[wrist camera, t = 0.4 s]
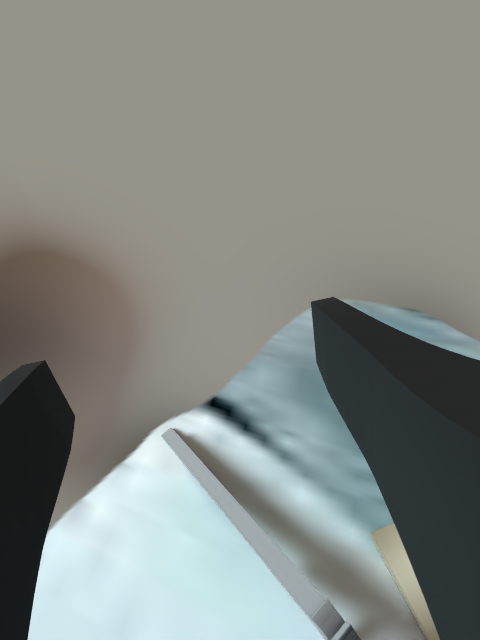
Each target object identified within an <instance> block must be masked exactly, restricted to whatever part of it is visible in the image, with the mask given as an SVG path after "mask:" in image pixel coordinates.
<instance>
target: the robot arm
mask: <svg viewBox="0 0 480 640" xmlns="http://www.w3.org/2000/svg"><path fill="white" fill-rule="evenodd" d="M311 308H312V318H313V329H314V340H315V351H316V361H317V365H318V367H319V370H320V372H321V375H322V378H323V380H324V383H325V385H326V388H327V390H328V392H329V394H330V396H331V398H332V400H333V402H334V403H335V405H336V407H337V409H338V411H339V413H340V414H341V416H342V418H343V420H344V421H345V423H346V425H347V427H348V429H349V430H350V432H351V434H352V436H353V438H354V439H355V441H356V443H357V445H358V446H359V448H360V450H361V452H362V454H363V455H364V457H365V459H366V461H367V463H368V465H369V467H370V469H371V471H372V473H373V475H374V477H375V479H376V482H377V484H378V486H379V489H380V491H381V493H382V496H383V498H384V500H385V503H386V505H387V507H388V509H389V512H390V514H391V517H392V519H393V521H394V524H395V526H396V529H397V531H398V534H399V536H400V538H401V541H402V543H403V546H404V548H405V550H406V553H407V556H408V558H409V561H410V563H411V566H412V568H413V571H414V573H415V576H416V578H417V581H418V583H419V586H420V588H421V591H422V593H423V596H424V599H425V601H426V604H427V606H428V609H429V612H430V614H431V617H432V620H433V622H434V625H435V628H436V630H437V633H438V636H439V638H440V640H480V361H479V360H476V359H473V358H469V357H466V356H463V355H460V354H457V353H454V352H452V351H449V350H446V349H443V348H440V347H437V346H435V345H432V344H429V343H427V342H424V341H422V340H420V339H417V338H415V337H413V336H410V335H408V334H406V333H403V332H401V331H399V330H397V329H395V328H393V327H391V326H389V325H386V324H384V323H382V322H380V321H378V320H376V319H375V318H373V317H371V316H369V315H367V314H365V313H363V312H361V311H359V310H357V309H356V308H354V307H352V306H350V305H348V304H346V303H344V302H343V301H341V300H339V299H337V298H334V297H331V298H326V299H322V300H317V301H313V302H311ZM74 422H75V415H74V413H73V411H72V410H71V408H70V406H69V404H68V402H67V400H66V398H65V397H64V395H63V393H62V391H61V390H60V387H59V385H58V384H57V382H56V380H55V378H54V376H53V374H52V372H51V370H50V369H49V367H48V365H47V363H46V361H45V360H44V361H40V362H36V363H30V364H26V365H22V366H21V367H19V368H18V369H16V370H15V371H13V372H12V373H11V374H9V375H8V376H7V377H6V378H4V379H3V380H2V381H1V382H0V640H27V639H28V632H29V625H30V619H31V612H32V606H33V599H34V593H35V587H36V582H37V577H38V571H39V566H40V560H41V555H42V550H43V546H44V542H45V538H46V534H47V530H48V527H49V523H50V520H51V517H52V513H53V510H54V507H55V503H56V500H57V496H58V493H59V490H60V486H61V483H62V479H63V476H64V472H65V469H66V465H67V462H68V458H69V454H70V451H71V444H72V438H73V430H74Z"/></svg>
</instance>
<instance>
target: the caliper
mask: <svg viewBox="0 0 480 640" xmlns="http://www.w3.org/2000/svg"><path fill="white" fill-rule="evenodd" d="M161 436H162V437H163V439H164V440H165V441H166V442H167V444H168V445H169V446H170V447H171V449H172V450H173V451H174V452H175V454H176V455H177V456H178V457H179V459H180V460H181V461H182V462H183V464H184V465H185V466H186V467H187V469H188V470H189V471H190V472H191V473H192V475H193V476H194V477H195V478H196V480H197V481H198V482H199V483H200V484H201V486H202V487H203V488H204V489H205V491H206V492H207V493H208V494H209V496H210V497H211V498H212V499H213V500H214V502H215V503H216V504H217V505H218V507H219V508H220V509H221V510H222V512H223V513H224V514H225V515H226V516H227V518H228V519H229V520H230V521H231V523H232V524H233V525H234V526H235V528H236V529H237V530H238V531H239V532H240V534H241V535H242V536H243V537H244V539H245V540H246V541H247V542H248V543H249V545H250V546H251V547H252V548H253V550H254V551H255V552H256V553H257V555H258V556H259V557H260V558H261V559H262V561H263V562H264V563H265V564H266V566H267V567H268V569H269V570H270V571H271V572H272V574H273V575H274V576H275V577H276V579H277V580H278V581H279V582H280V583H281V585H282V586H283V587H284V588H285V590H286V591H287V592H288V593H289V595H290V596H291V597H292V598H293V599H294V601H295V602H296V603H297V604H298V605H299V606H300V608H301V609H302V610H303V611H304V613H305V614H306V615H307V616H308V618H309V619H310V620H311V622H312V623H313V624H314V626H315V627H316V628H317V630H318V631H319V632H320V633H321V635H322V636H323V637H324V639H325V640H361V639H360V638H359V637H358V636H357V634H356V632H355V631H354V629H353V628H352V626H351V624H350V623H349V622H348V621H346V622H345V621H344V620H343V618H342V617H341V615H340V614H339V613H338V612H337V610H336V609H335V608H334V606H333V605H332V604H331V602H330V601H329V600H328V599H326V600H325V598H324V597H323V596H322V595H321V594H320V593H319V592H318V591H317V589H316V588H315V587H314V586H313V585H312V584H311V583H310V582H309V580H308V579H307V578H306V577H305V576H304V575H303V574H302V573H301V572H300V570H299V569H298V568H297V567H296V566H295V565H294V564H293V563H292V561H291V560H290V559H289V558H288V557H287V556H286V555H285V554H284V552H283V551H282V550H281V549H280V548H279V547H278V546H277V545H276V544H275V542H274V541H273V540H272V539H271V538H270V537H269V536H268V535H267V533H265V532H264V531H263V530H262V529H261V528H260V527H259V525H258V524H257V523H256V522H255V521H254V520H253V519H252V518H251V516H250V515H249V514H248V513H247V512H246V511H245V510H244V509H243V507H242V506H241V505H240V504H239V503H238V502H237V501H236V499H235V498H234V497H233V496H232V495H231V494H230V493H229V492H228V490H227V489H226V488H225V487H224V486H223V485H222V484H221V483H220V481H219V480H218V479H217V478H216V477H215V476H214V475H213V474H212V472H211V471H210V470H209V469H208V468H207V467H206V466H205V465H204V463H203V462H202V461H201V460H200V459H199V458H198V457H197V456H196V454H195V453H194V452H193V451H192V450H191V449H190V448H189V447H188V445H187V444H186V443H185V442H184V441H183V440H182V439H181V438H180V436H179V435H178V434H177V433H176V432H175V431H174V430H173V429H172V428H170V429H168V430H167V431H166V432H165V433H164V434H162V435H161Z"/></svg>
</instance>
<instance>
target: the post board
mask: <svg viewBox="0 0 480 640" xmlns="http://www.w3.org/2000/svg"><path fill="white" fill-rule="evenodd" d="M371 534H372V540H373V542H374V544H375V545H376V547H377V549H378V551H379V553H380V555H381V557H382V558H383V560H384V562H385V564H386V566H387V568H388V570H389V571H390V573H391V575H392V577H393V579H394V581H395V582H396V584H397V586H398V588H399V590H400V592H401V594H402V595H403V597H404V599H405V601H406V603H407V605H408V607H409V608H410V610H411V612H412V614H413V616H414V618H415V620H416V621H417V623H418V625H419V627H420V629H421V631H422V633H423V634H424V636H425V638H426V640H440V638H439V636H438V633H437V630H436V628H435V625H434V622H433V620H432V617H431V614H430V612H429V609H428V606H427V604H426V601H425V599H424V596H423V593H422V591H421V588H420V586H419V583H418V581H417V578H416V576H415V573H414V571H413V568H412V566H411V563H410V561H409V558H408V556H407V553H406V550H405V548H404V546H403V543H402V541H401V538H400V536H399V534H398V531H397V529H396V526H395V524H394V523H392V524H390V525H388V526H385V527H383V528H381V529H379V530H377V531H374V532H372V533H371Z"/></svg>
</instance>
